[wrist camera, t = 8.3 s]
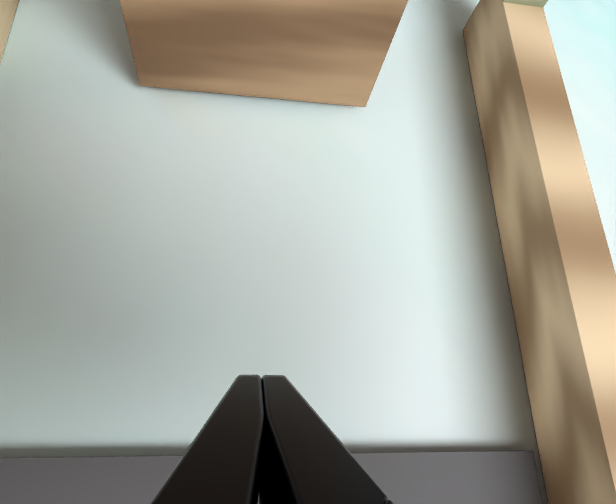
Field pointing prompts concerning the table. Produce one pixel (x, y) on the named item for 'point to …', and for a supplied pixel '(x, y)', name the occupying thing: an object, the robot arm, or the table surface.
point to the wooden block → (263, 46)
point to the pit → (156, 469)
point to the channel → (542, 244)
